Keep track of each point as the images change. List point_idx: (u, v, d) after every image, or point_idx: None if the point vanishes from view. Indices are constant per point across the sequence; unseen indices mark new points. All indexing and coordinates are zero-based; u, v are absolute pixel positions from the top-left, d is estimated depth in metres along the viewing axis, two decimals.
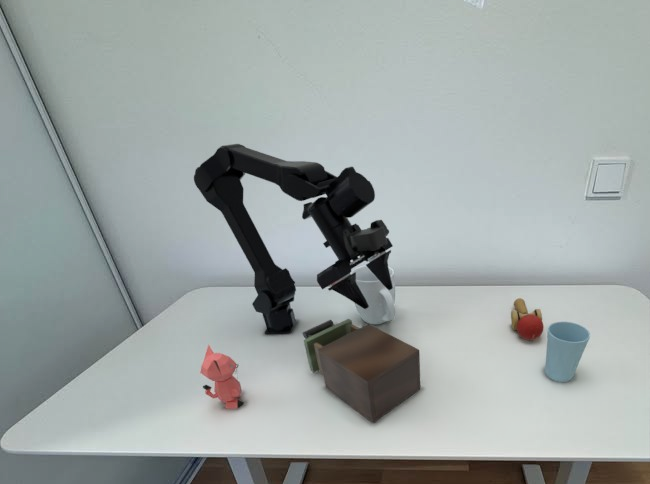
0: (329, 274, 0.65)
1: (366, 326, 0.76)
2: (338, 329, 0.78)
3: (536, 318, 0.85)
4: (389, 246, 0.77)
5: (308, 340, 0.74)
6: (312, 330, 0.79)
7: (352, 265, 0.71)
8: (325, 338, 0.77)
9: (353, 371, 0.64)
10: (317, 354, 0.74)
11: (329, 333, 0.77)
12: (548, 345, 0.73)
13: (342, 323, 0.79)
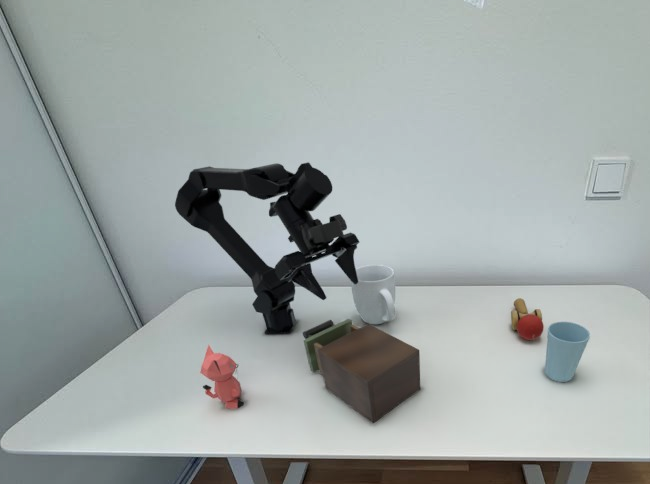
0: (282, 264, 0.68)
1: (366, 326, 0.76)
2: (338, 329, 0.78)
3: (536, 318, 0.85)
4: (355, 241, 0.79)
5: (308, 340, 0.74)
6: (312, 330, 0.79)
7: (312, 258, 0.74)
8: (325, 338, 0.77)
9: (353, 371, 0.64)
10: (317, 354, 0.74)
11: (329, 333, 0.77)
12: (548, 345, 0.73)
13: (342, 323, 0.79)
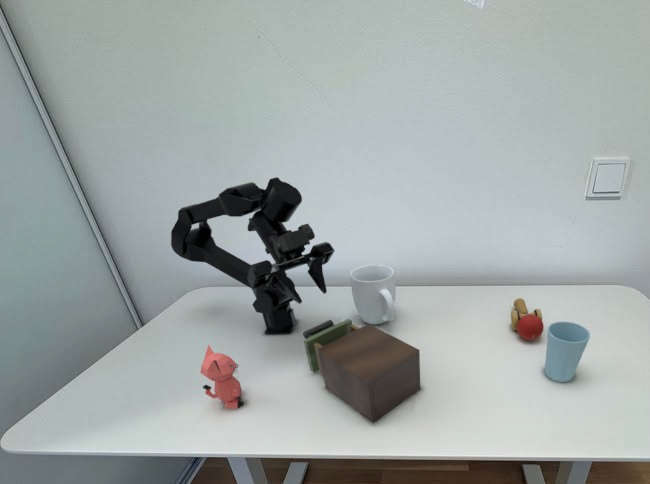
0: (250, 273, 0.73)
1: (366, 326, 0.76)
2: (338, 329, 0.78)
3: (536, 318, 0.85)
4: (328, 250, 0.81)
5: (308, 340, 0.74)
6: (312, 330, 0.79)
7: (284, 267, 0.78)
8: (325, 338, 0.77)
9: (353, 371, 0.64)
10: (317, 354, 0.74)
11: (329, 333, 0.77)
12: (548, 345, 0.73)
13: (342, 323, 0.79)
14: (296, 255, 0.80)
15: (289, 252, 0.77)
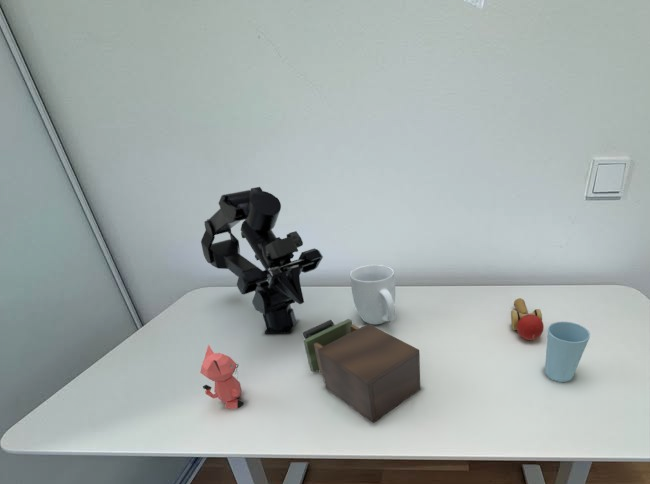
0: (240, 279, 0.75)
1: (366, 326, 0.76)
2: (338, 329, 0.78)
3: (536, 318, 0.85)
4: (316, 256, 0.83)
5: (308, 340, 0.74)
6: (312, 330, 0.79)
7: None
8: (325, 338, 0.77)
9: (353, 371, 0.64)
10: (317, 354, 0.74)
11: (329, 333, 0.77)
12: (548, 345, 0.73)
13: (342, 323, 0.79)
14: (285, 261, 0.82)
15: (278, 259, 0.79)
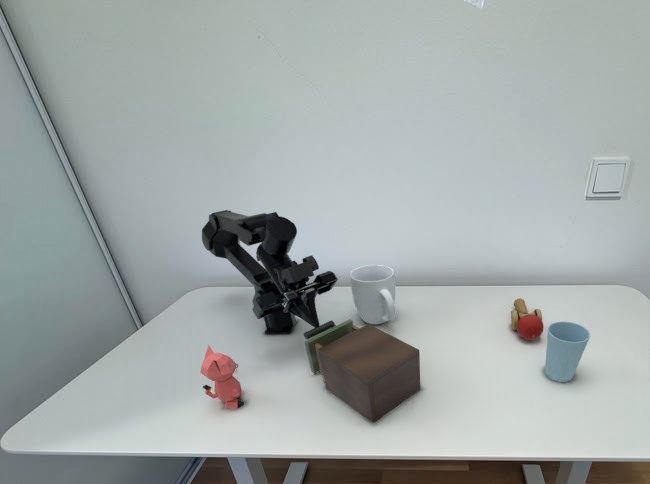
0: (256, 305, 0.74)
1: (366, 326, 0.76)
2: (339, 330, 0.78)
3: (536, 318, 0.85)
4: (332, 279, 0.83)
5: (309, 341, 0.74)
6: (313, 331, 0.79)
7: None
8: (326, 338, 0.76)
9: (353, 371, 0.64)
10: (318, 355, 0.74)
11: (330, 334, 0.77)
12: (548, 345, 0.73)
13: (343, 324, 0.79)
14: (300, 285, 0.81)
15: (293, 283, 0.78)
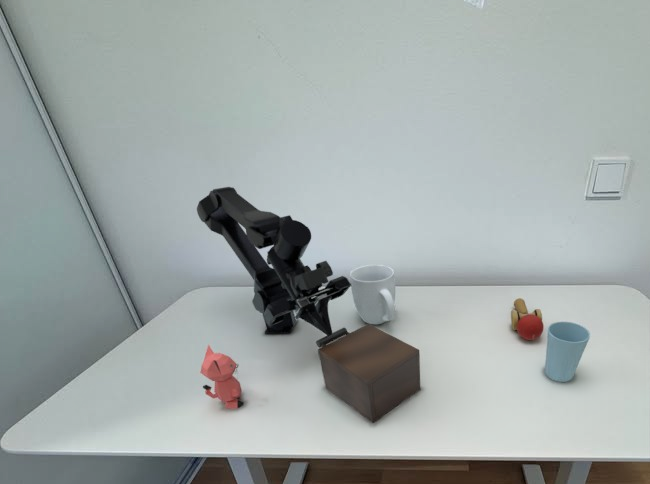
0: (268, 312, 0.71)
1: (366, 326, 0.76)
2: None
3: (536, 318, 0.85)
4: (345, 285, 0.80)
5: None
6: (326, 338, 0.76)
7: None
8: None
9: (353, 371, 0.64)
10: None
11: None
12: (548, 345, 0.73)
13: None
14: (313, 290, 0.78)
15: (306, 289, 0.75)
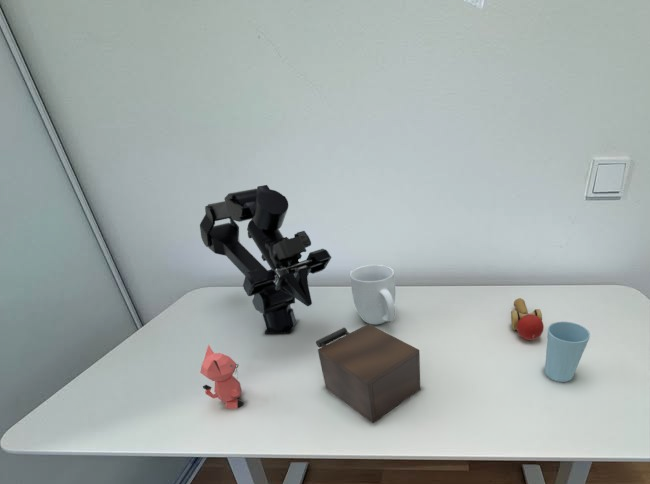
0: (246, 280, 0.72)
1: (366, 326, 0.76)
2: None
3: (536, 318, 0.85)
4: (325, 257, 0.81)
5: None
6: (326, 338, 0.76)
7: None
8: None
9: (353, 371, 0.64)
10: None
11: None
12: (548, 345, 0.73)
13: None
14: (292, 262, 0.79)
15: (285, 259, 0.76)
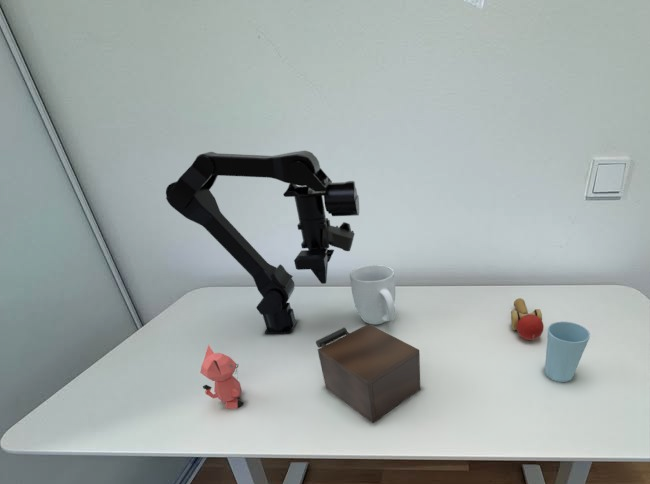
0: (314, 262, 0.76)
1: (366, 326, 0.76)
2: None
3: (536, 318, 0.85)
4: None
5: None
6: (326, 338, 0.76)
7: None
8: None
9: (353, 371, 0.64)
10: None
11: None
12: (548, 345, 0.73)
13: None
14: None
15: None
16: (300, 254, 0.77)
